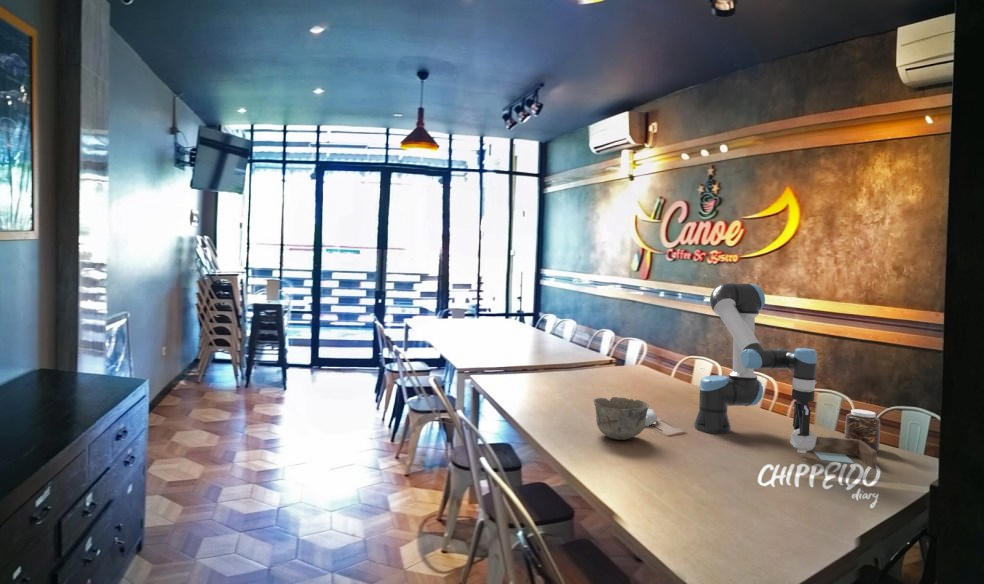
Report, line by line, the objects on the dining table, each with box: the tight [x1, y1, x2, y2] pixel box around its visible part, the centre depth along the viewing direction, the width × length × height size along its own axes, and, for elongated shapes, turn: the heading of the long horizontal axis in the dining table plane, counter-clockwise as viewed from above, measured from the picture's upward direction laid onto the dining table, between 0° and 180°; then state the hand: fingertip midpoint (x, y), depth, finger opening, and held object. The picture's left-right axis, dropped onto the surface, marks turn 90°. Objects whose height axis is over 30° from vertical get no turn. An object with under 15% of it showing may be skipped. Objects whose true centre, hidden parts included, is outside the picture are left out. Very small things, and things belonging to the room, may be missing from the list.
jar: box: [844, 408, 881, 453], centre depth 237 cm, size 12×12×15 cm
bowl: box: [593, 396, 649, 441], centre depth 240 cm, size 22×22×15 cm
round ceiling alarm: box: [645, 407, 658, 427], centre depth 269 cm, size 25×25×6 cm
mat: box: [813, 451, 855, 465], centre depth 223 cm, size 11×11×1 cm
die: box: [789, 428, 818, 452], centre depth 221 cm, size 8×9×10 cm
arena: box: [808, 435, 878, 469], centre depth 222 cm, size 20×16×6 cm
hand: (799, 449), depth 223 cm, fingers closed on die, 6 cm apart
